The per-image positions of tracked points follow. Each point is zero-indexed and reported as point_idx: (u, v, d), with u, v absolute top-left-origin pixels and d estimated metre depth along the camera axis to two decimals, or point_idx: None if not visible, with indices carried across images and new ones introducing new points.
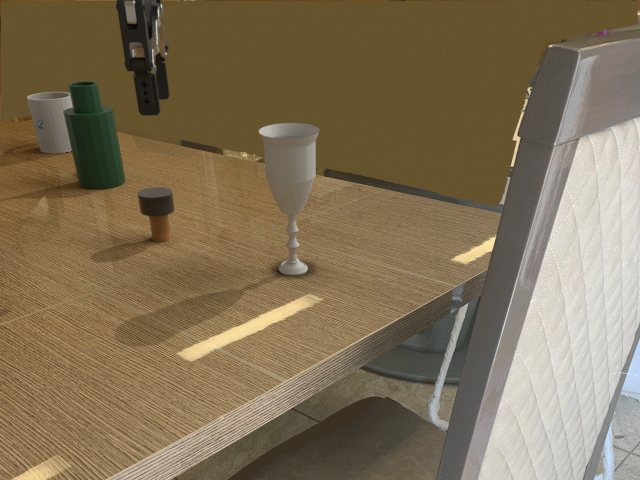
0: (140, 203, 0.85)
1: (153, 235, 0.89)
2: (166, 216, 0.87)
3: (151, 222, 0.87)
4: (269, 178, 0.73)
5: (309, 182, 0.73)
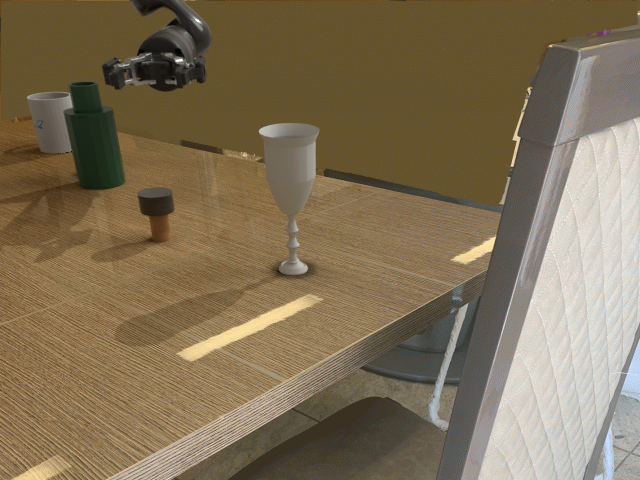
0: (140, 203, 0.85)
1: (153, 235, 0.89)
2: (166, 216, 0.87)
3: (151, 222, 0.87)
4: (269, 178, 0.73)
5: (309, 182, 0.73)
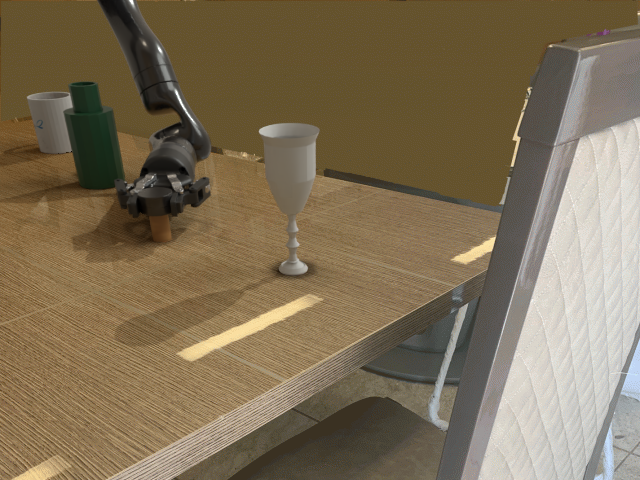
0: (140, 203, 0.85)
1: (153, 235, 0.89)
2: (166, 216, 0.87)
3: (151, 222, 0.87)
4: (269, 178, 0.73)
5: (309, 182, 0.73)
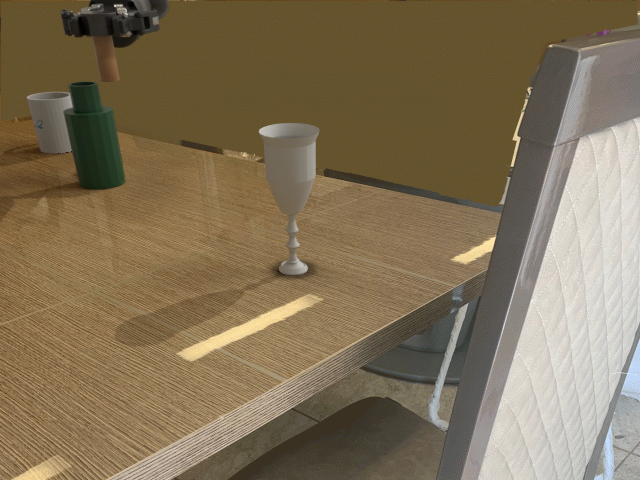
0: (82, 22, 0.84)
1: (98, 61, 0.87)
2: (110, 40, 0.86)
3: (95, 46, 0.86)
4: (269, 178, 0.73)
5: (309, 182, 0.73)
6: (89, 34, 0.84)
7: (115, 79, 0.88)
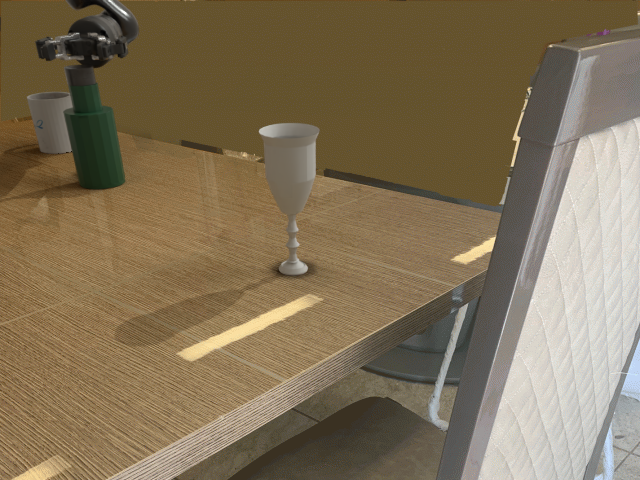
0: (66, 75, 1.05)
1: None
2: None
3: None
4: (269, 178, 0.73)
5: (309, 182, 0.73)
6: (71, 84, 1.05)
7: None
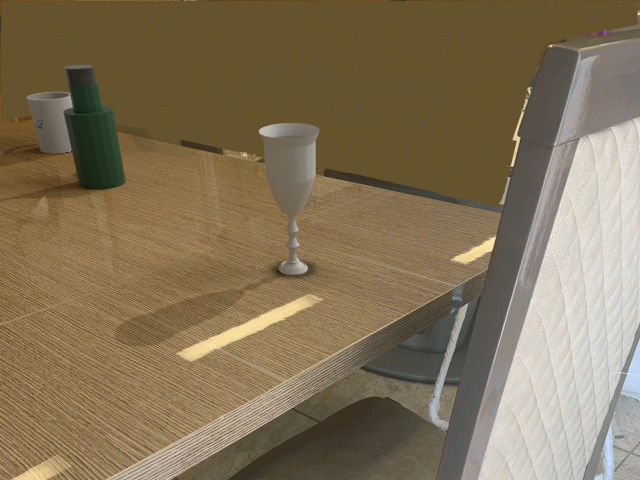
0: (66, 75, 1.05)
1: None
2: None
3: None
4: (269, 178, 0.73)
5: (309, 182, 0.73)
6: (71, 84, 1.05)
7: None
